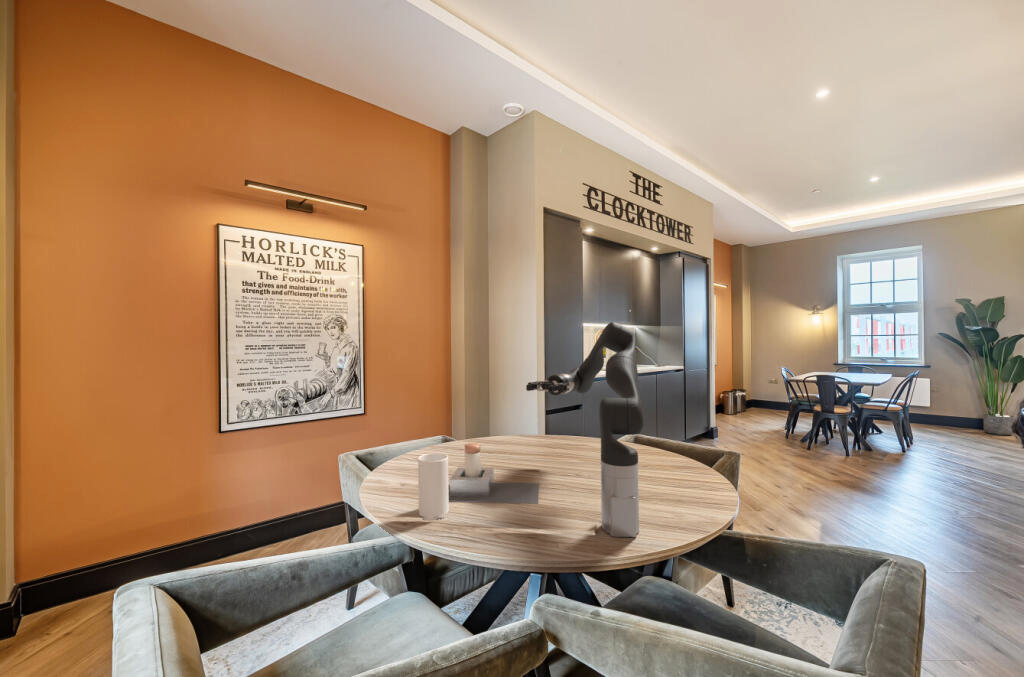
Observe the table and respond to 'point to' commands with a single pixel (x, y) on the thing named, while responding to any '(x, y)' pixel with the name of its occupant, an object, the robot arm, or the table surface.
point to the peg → (472, 460)
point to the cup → (433, 485)
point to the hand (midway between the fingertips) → (538, 388)
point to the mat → (505, 494)
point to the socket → (472, 483)
